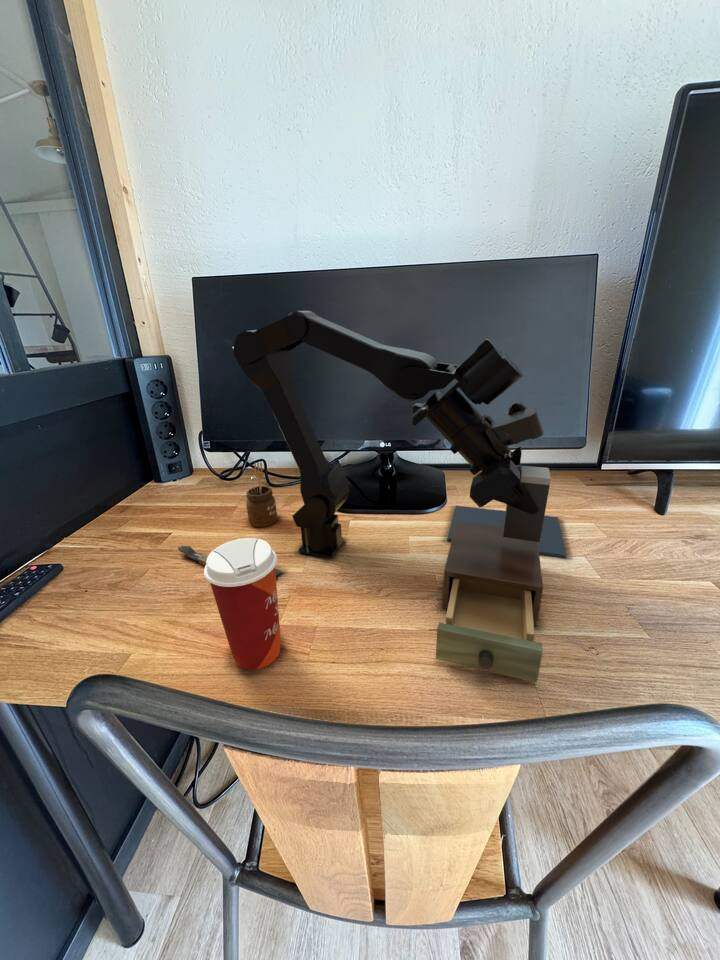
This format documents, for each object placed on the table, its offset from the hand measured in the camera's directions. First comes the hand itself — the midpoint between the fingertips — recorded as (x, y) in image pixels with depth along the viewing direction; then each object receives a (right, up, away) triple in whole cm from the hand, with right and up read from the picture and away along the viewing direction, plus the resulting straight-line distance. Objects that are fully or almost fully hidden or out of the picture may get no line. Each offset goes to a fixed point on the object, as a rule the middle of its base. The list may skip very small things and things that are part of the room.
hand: (535, 505), depth 57 cm
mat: (+3, -6, +20) cm, 21 cm away
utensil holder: (-46, -5, +27) cm, 53 cm away
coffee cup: (-39, -19, -5) cm, 43 cm away
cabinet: (-5, -13, +5) cm, 15 cm away
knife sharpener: (-1, -4, +2) cm, 5 cm away
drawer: (-9, -16, -5) cm, 19 cm away
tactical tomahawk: (-49, -11, +12) cm, 52 cm away
